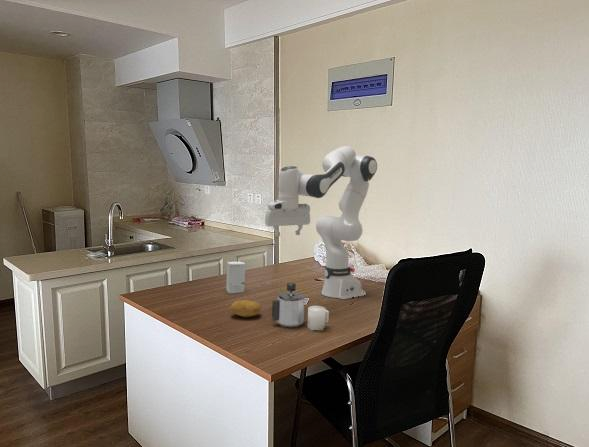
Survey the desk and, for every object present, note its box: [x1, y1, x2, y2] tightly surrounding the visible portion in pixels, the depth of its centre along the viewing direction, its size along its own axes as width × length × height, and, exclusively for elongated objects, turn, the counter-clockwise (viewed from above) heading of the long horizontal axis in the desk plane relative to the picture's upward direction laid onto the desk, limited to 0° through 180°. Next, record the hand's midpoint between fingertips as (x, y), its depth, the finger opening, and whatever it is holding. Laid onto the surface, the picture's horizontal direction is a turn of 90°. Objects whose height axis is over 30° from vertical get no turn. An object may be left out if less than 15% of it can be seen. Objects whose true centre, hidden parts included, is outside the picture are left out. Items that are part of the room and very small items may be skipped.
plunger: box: [286, 282, 297, 301], centre depth 178 cm, size 8×8×15 cm
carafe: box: [271, 290, 305, 328], centre depth 178 cm, size 13×11×12 cm
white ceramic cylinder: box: [306, 305, 330, 331], centre depth 174 cm, size 8×7×8 cm
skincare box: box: [225, 261, 246, 294], centre depth 219 cm, size 8×6×15 cm
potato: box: [230, 299, 262, 318], centre depth 185 cm, size 9×13×7 cm
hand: (287, 235), depth 192 cm, fingers open, 8 cm apart
